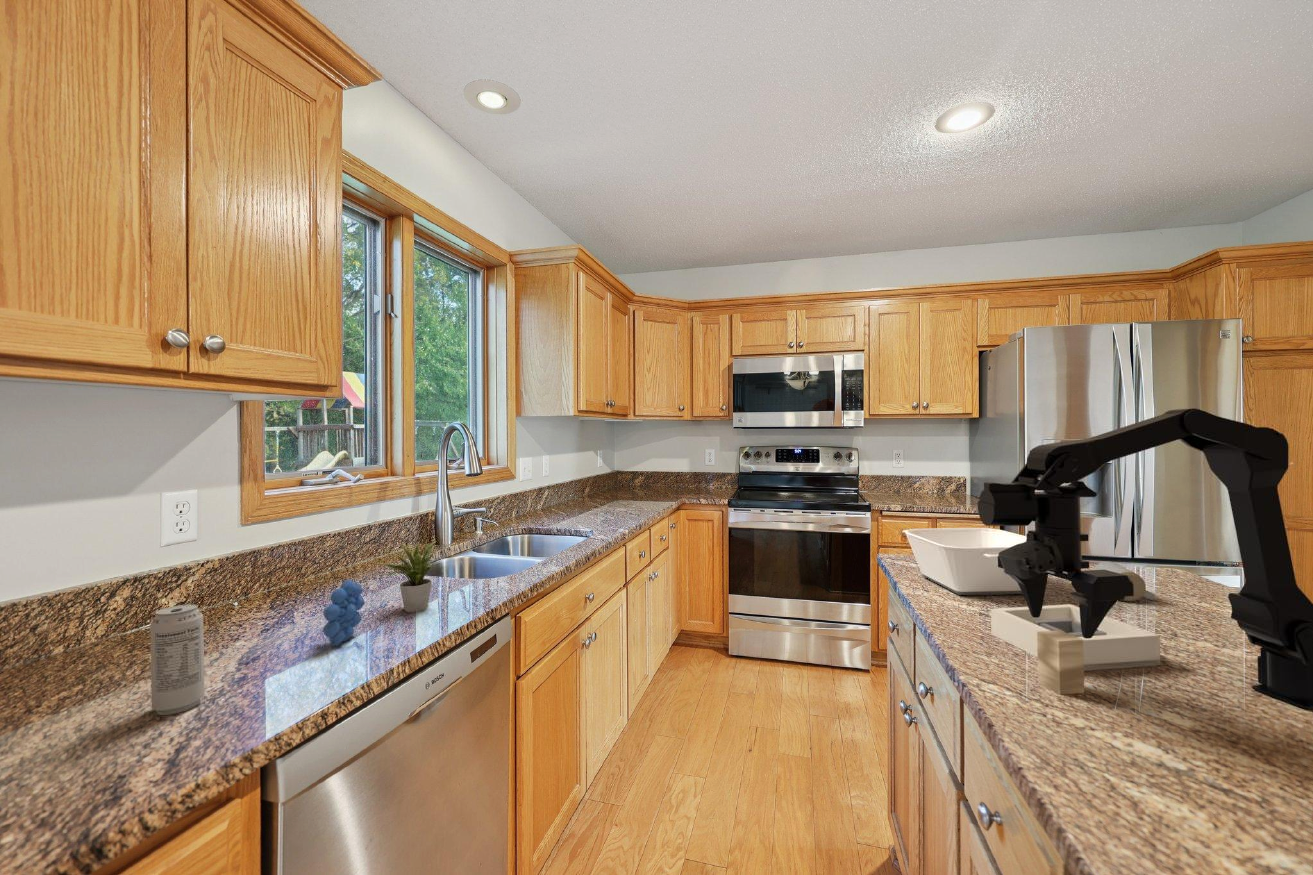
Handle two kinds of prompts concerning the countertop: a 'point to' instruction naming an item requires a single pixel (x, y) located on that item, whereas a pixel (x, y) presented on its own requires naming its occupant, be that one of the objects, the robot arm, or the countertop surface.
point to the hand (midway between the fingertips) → (1060, 627)
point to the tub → (965, 558)
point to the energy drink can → (177, 659)
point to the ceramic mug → (1137, 580)
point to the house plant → (414, 578)
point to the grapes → (343, 612)
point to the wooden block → (1060, 662)
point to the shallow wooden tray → (1079, 636)
